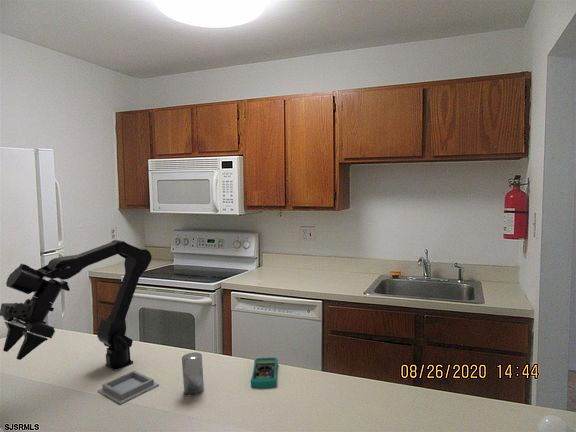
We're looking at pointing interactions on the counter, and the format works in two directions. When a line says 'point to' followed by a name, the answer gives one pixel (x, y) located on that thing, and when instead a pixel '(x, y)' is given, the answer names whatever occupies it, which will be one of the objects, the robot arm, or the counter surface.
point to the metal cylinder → (192, 374)
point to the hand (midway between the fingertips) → (11, 355)
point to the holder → (127, 387)
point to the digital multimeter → (264, 372)
